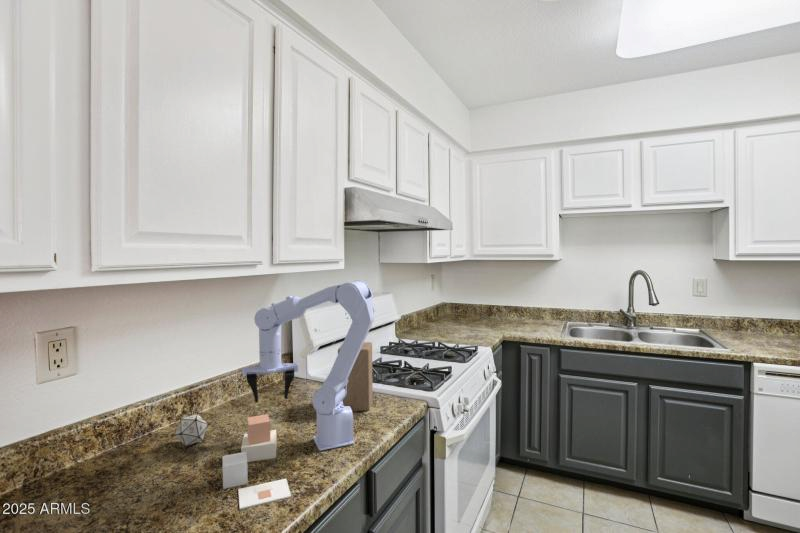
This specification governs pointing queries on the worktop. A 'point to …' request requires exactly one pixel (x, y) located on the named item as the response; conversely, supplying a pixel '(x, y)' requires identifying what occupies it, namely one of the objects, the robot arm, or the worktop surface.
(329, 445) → the robot arm
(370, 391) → the wooden block
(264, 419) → the terracotta cube
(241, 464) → the white cube
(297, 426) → the worktop surface
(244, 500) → the card
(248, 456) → the cream base block
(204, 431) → the game die
